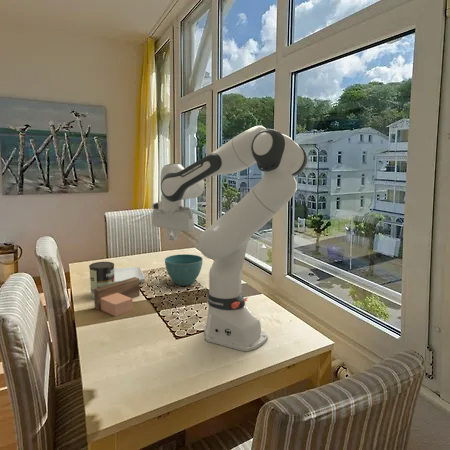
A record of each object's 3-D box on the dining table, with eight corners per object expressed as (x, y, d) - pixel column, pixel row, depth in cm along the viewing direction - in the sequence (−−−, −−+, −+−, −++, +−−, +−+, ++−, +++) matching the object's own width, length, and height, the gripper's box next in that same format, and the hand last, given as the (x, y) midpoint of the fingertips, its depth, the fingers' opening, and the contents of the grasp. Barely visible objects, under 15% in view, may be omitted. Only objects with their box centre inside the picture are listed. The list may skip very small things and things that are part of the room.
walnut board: (139, 295, 158) (139, 278, 156) (99, 309, 142) (98, 290, 141) (135, 294, 160) (134, 277, 158) (94, 307, 144) (93, 289, 143)
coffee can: (119, 292, 162) (118, 262, 159) (107, 300, 152) (106, 268, 149) (98, 290, 164) (97, 260, 161) (85, 298, 154) (84, 267, 151)
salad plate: (146, 284, 173) (146, 277, 173) (99, 289, 165) (99, 282, 165) (139, 272, 193) (139, 266, 192) (97, 276, 185) (97, 269, 184)
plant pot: (158, 286, 170) (157, 261, 168) (175, 275, 187) (175, 252, 185) (193, 291, 164) (193, 265, 162) (207, 279, 181) (208, 256, 179)
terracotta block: (132, 310, 143) (132, 298, 142) (115, 317, 137) (115, 304, 136) (117, 304, 149) (117, 292, 148) (100, 310, 143) (100, 298, 142)
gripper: (197, 206, 137) (197, 242, 140) (160, 203, 149) (161, 235, 152) (186, 208, 132) (186, 244, 135) (149, 204, 144) (150, 237, 147)
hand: (173, 239), depth 143 cm, fingers closed
